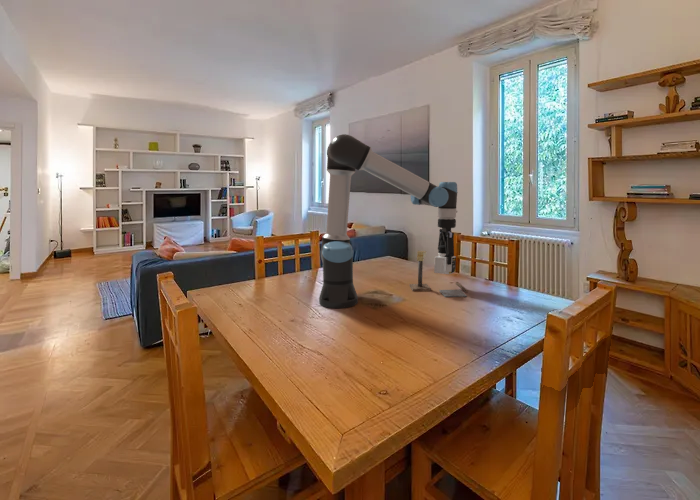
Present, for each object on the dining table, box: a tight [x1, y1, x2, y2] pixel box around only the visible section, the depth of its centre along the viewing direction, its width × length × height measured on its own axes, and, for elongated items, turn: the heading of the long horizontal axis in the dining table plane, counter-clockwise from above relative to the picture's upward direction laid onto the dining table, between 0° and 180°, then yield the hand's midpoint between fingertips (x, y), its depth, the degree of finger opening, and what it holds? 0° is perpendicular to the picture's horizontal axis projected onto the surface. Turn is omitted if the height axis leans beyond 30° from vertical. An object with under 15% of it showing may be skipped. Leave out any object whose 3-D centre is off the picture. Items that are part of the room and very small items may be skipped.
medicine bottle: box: [433, 245, 457, 275], centre depth 167 cm, size 7×7×12 cm
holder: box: [409, 261, 469, 293], centre depth 168 cm, size 23×14×12 cm, turn 91°
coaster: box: [439, 289, 468, 298], centre depth 160 cm, size 9×9×1 cm
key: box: [416, 250, 427, 262], centre depth 170 cm, size 15×3×4 cm, turn 162°
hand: (444, 268), depth 168 cm, fingers closed on medicine bottle, 10 cm apart
